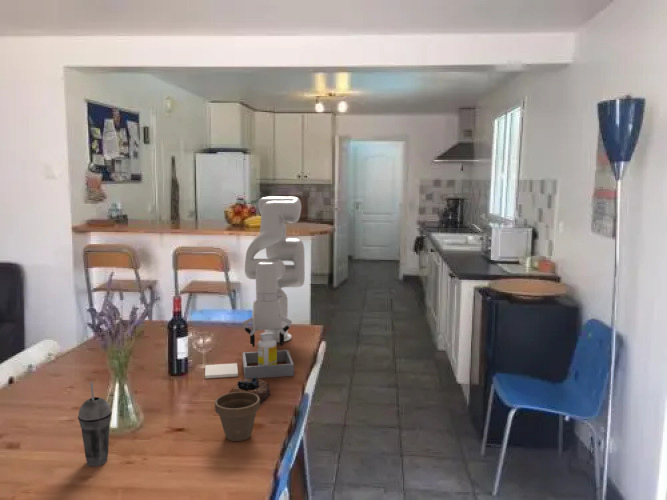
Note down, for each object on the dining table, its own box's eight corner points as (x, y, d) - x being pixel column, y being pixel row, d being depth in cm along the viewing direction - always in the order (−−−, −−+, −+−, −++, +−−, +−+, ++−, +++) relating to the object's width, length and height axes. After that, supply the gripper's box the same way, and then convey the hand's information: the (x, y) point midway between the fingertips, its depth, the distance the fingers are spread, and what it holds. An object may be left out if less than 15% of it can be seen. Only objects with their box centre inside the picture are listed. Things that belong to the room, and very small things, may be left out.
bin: (242, 363, 202) (242, 352, 202) (288, 360, 206) (287, 350, 205) (244, 378, 186) (244, 367, 186) (293, 375, 190) (293, 364, 189)
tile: (205, 367, 197) (205, 365, 197) (237, 365, 199) (236, 363, 199) (204, 378, 186) (204, 375, 186) (238, 376, 189) (237, 373, 188)
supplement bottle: (278, 366, 199) (278, 331, 197) (274, 372, 192) (274, 336, 191) (260, 365, 200) (260, 331, 198) (256, 372, 193) (255, 336, 192)
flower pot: (217, 449, 137) (216, 410, 136) (213, 429, 148) (213, 393, 147) (263, 443, 140) (263, 405, 139) (256, 424, 151) (256, 389, 150)
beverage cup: (118, 454, 134) (114, 374, 132) (107, 469, 127) (103, 385, 125) (87, 454, 134) (83, 374, 132) (74, 469, 127) (70, 385, 124)
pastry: (273, 393, 175) (273, 375, 174) (258, 407, 163) (258, 388, 162) (241, 389, 177) (241, 371, 177) (224, 403, 166) (224, 384, 165)
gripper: (290, 294, 198) (290, 341, 200) (241, 296, 195) (241, 343, 196) (292, 298, 191) (293, 346, 192) (242, 299, 187) (242, 349, 189)
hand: (267, 345), depth 194 cm, fingers open, 9 cm apart
